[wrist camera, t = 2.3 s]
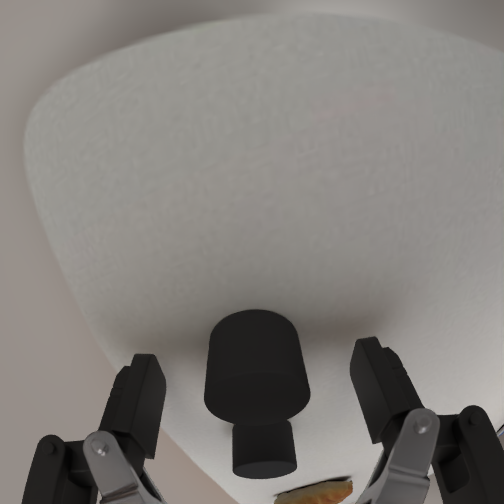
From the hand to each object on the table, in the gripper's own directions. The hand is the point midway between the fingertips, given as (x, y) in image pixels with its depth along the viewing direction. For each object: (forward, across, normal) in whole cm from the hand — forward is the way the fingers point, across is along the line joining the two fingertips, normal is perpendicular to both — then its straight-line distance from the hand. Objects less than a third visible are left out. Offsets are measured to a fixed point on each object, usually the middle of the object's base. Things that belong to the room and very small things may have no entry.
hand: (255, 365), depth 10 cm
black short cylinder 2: (+1, 0, +8) cm, 8 cm away
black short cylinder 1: (+1, 0, 0) cm, 1 cm away
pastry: (+1, -5, +28) cm, 28 cm away
